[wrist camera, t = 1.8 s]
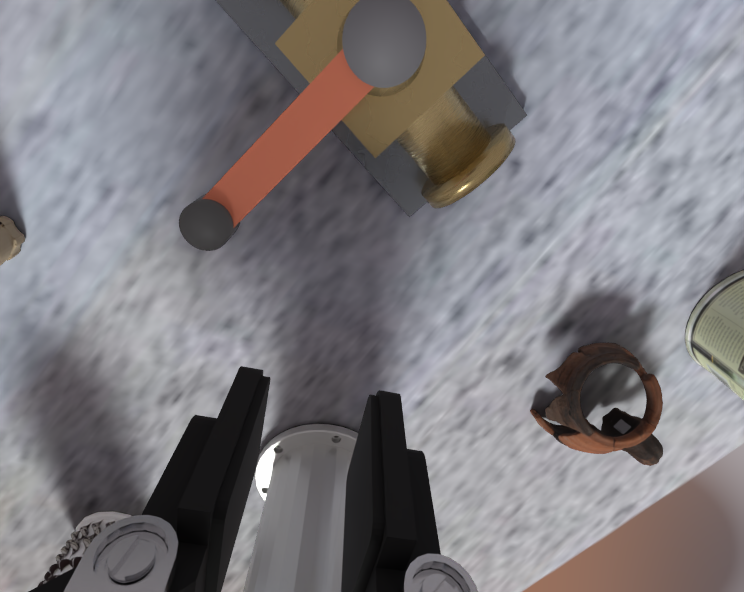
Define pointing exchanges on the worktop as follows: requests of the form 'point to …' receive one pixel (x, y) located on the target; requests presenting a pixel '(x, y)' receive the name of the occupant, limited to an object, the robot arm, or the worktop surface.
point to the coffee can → (720, 332)
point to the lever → (312, 115)
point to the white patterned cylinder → (81, 541)
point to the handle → (9, 239)
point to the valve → (400, 98)
